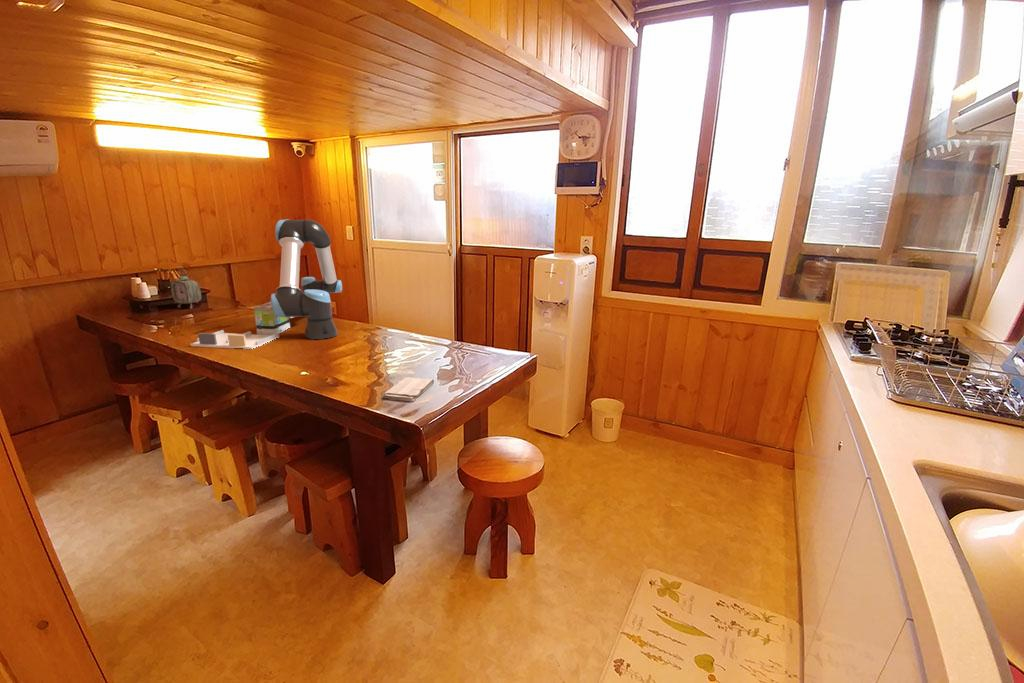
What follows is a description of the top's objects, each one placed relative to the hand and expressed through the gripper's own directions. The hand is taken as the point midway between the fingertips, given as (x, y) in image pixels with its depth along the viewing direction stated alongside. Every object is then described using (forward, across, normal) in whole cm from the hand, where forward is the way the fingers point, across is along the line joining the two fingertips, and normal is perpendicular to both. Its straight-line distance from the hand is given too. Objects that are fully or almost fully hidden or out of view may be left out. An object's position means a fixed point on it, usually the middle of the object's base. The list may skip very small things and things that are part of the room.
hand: (277, 315), depth 236 cm
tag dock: (+25, +6, -8) cm, 27 cm away
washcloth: (+70, -98, -9) cm, 120 cm away
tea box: (+5, 0, -8) cm, 9 cm away
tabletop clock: (-39, +89, -8) cm, 97 cm away
